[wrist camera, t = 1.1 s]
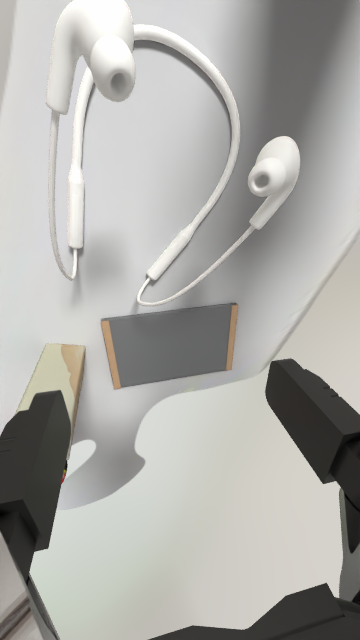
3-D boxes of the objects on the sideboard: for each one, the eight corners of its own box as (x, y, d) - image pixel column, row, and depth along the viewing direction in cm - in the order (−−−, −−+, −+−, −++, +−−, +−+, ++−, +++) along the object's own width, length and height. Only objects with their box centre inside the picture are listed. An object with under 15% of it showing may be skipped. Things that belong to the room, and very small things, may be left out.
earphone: (19, 282, 21) (-5, -34, 6) (78, 156, 28) (129, -132, 13) (166, 329, 26) (335, 215, 12) (184, 213, 33) (304, 51, 19)
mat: (101, 318, 28) (101, 321, 28) (235, 302, 31) (238, 305, 31) (114, 385, 33) (114, 389, 33) (229, 366, 36) (231, 369, 36)
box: (82, 378, 32) (69, 464, 22) (44, 377, 31) (13, 467, 21) (85, 343, 30) (72, 422, 20) (44, 340, 28) (9, 423, 19)
